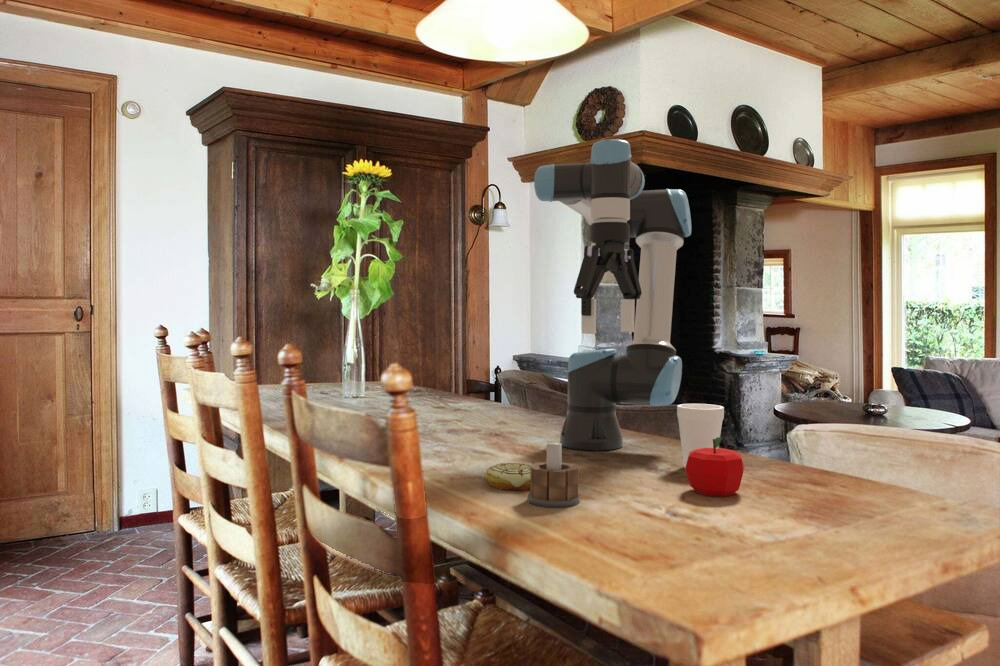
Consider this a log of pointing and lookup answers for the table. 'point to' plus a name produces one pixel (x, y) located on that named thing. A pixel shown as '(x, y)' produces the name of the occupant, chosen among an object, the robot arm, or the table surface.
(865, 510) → the table surface
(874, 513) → the table surface
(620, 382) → the robot arm
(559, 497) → the ring
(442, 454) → the table surface
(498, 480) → the decorated donut
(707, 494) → the apple
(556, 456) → the post
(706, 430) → the foam cup
